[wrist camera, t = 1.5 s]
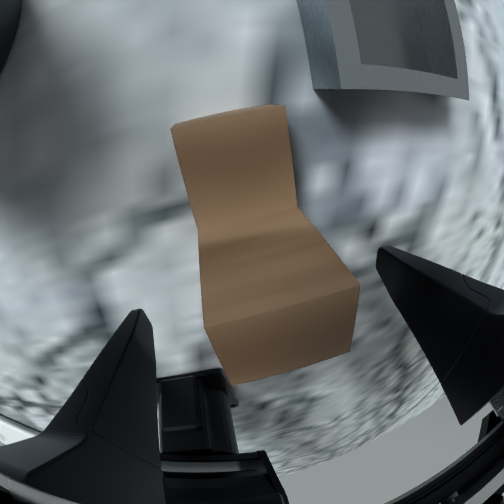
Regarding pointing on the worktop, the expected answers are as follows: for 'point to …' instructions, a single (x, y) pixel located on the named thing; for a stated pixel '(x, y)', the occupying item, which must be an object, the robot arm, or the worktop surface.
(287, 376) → the worktop surface
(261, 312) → the tan toy chair
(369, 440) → the worktop surface
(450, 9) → the grey rectangular tray
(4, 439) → the plate
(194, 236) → the worktop surface
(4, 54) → the mug
